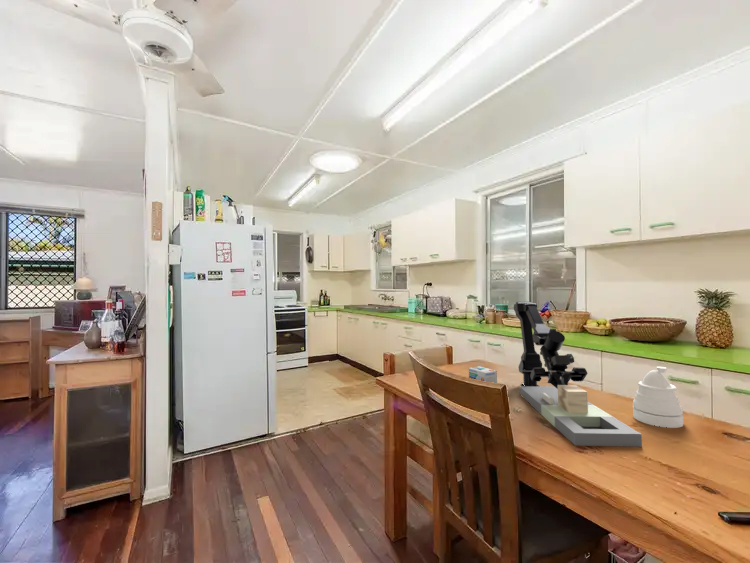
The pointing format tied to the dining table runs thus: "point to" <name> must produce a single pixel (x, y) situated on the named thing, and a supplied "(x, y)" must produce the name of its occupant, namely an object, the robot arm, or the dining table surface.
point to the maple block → (572, 399)
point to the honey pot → (657, 401)
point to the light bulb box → (483, 374)
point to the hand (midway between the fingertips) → (566, 395)
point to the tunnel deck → (581, 420)
